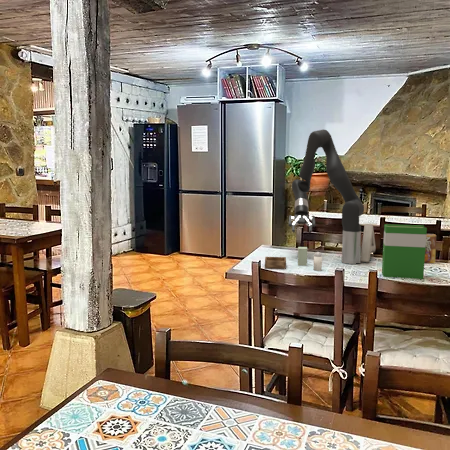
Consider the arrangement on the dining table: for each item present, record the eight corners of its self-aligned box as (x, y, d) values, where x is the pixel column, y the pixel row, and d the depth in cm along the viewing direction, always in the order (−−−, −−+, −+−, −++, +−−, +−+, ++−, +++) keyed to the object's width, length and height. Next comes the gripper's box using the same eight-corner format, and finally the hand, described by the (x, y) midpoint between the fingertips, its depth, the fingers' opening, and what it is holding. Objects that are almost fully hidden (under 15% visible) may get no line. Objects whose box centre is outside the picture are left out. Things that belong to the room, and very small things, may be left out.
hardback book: (420, 275, 217) (423, 225, 213) (423, 279, 210) (426, 228, 206) (381, 272, 221) (384, 224, 217) (383, 276, 214) (386, 226, 210)
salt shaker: (321, 268, 228) (321, 251, 227) (322, 270, 224) (322, 252, 223) (313, 268, 229) (313, 251, 227) (313, 270, 225) (314, 252, 223)
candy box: (432, 261, 244) (434, 233, 242) (435, 263, 240) (437, 235, 238) (415, 261, 246) (417, 233, 243) (417, 262, 241) (419, 234, 239)
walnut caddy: (285, 264, 237) (285, 257, 236) (286, 269, 227) (286, 261, 227) (265, 264, 238) (265, 256, 237) (264, 268, 229) (265, 260, 228)
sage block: (306, 263, 239) (306, 247, 238) (306, 265, 235) (307, 248, 233) (297, 263, 240) (298, 246, 238) (298, 265, 235) (298, 248, 234)
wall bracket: (371, 281, 264) (368, 261, 240) (364, 280, 266) (360, 260, 241) (375, 247, 273) (372, 224, 248) (368, 246, 275) (364, 224, 250)
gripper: (288, 204, 252) (288, 227, 242) (314, 204, 250) (315, 228, 241) (288, 212, 258) (288, 235, 248) (313, 212, 256) (314, 236, 247)
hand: (302, 231), depth 244 cm, fingers open, 8 cm apart
